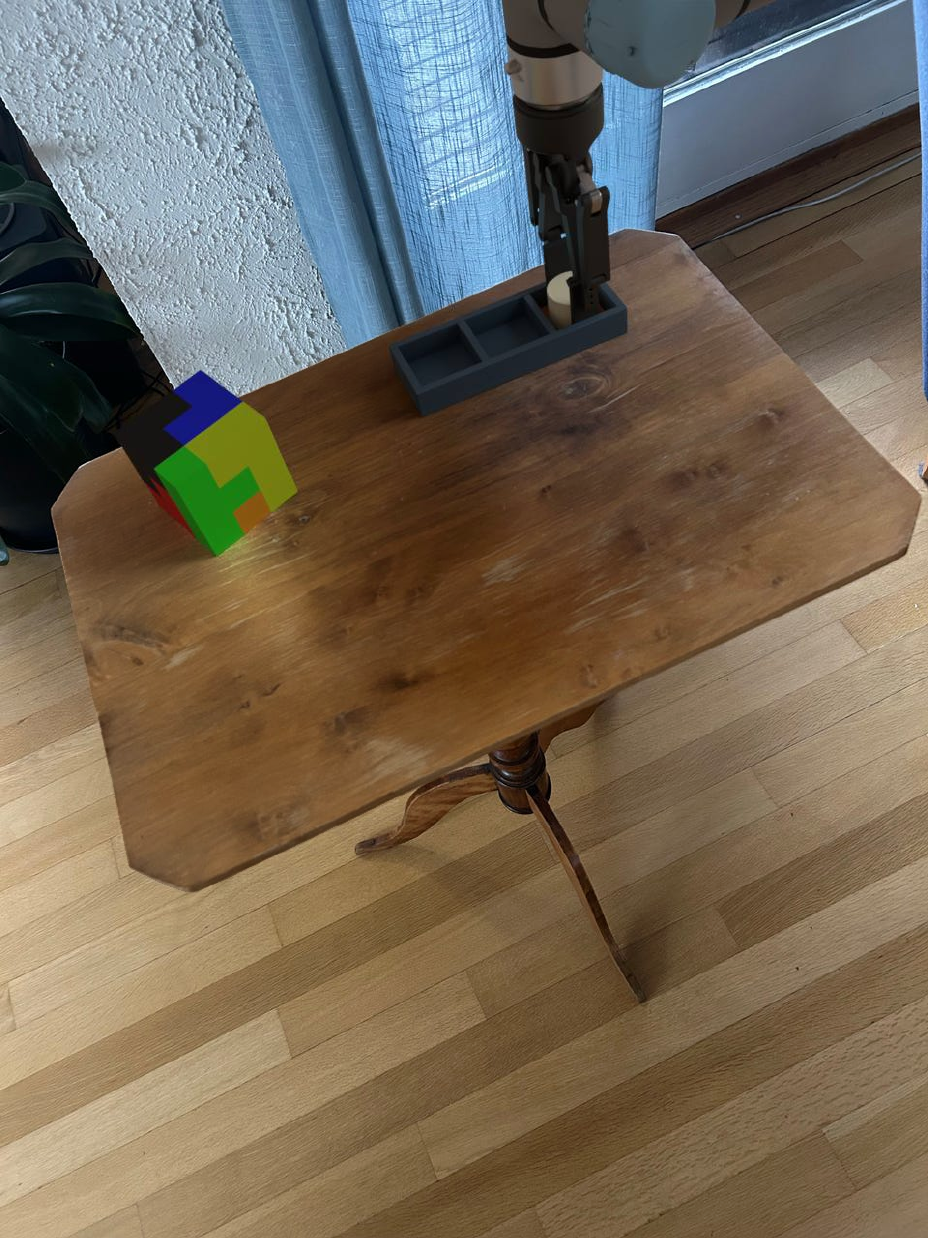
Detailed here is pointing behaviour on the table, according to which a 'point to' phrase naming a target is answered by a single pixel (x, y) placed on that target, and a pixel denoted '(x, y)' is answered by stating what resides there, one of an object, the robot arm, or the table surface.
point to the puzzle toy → (208, 461)
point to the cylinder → (559, 301)
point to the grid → (497, 346)
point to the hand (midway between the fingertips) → (573, 311)
